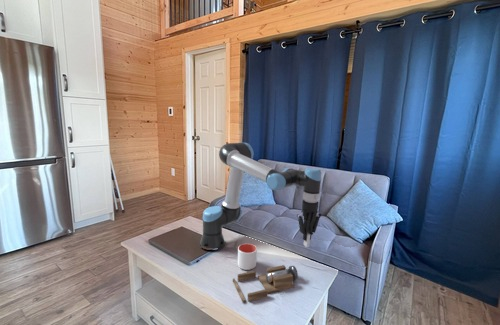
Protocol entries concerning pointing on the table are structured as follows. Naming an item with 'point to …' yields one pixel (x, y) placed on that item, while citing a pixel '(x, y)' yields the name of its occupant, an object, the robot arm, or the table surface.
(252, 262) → the cup
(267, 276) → the shaft
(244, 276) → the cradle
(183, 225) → the table surface
